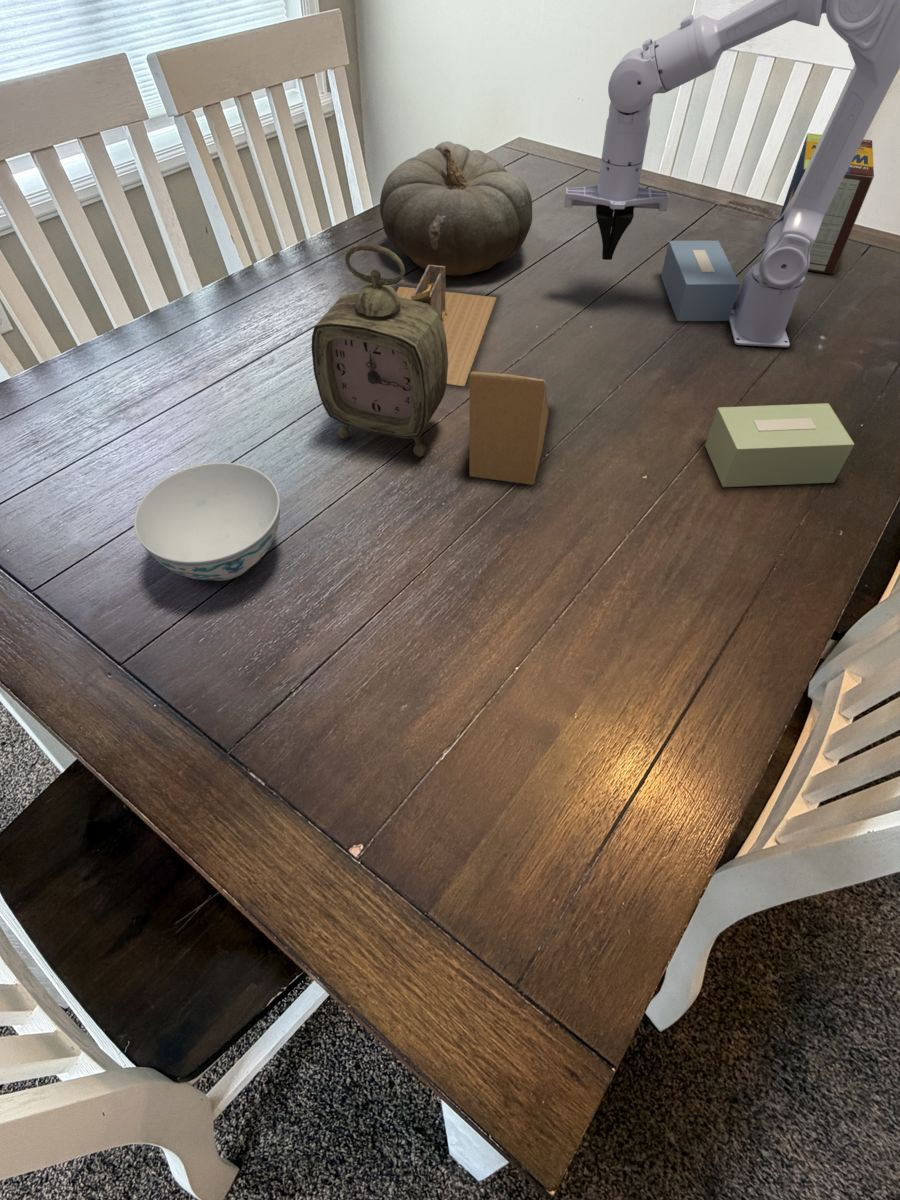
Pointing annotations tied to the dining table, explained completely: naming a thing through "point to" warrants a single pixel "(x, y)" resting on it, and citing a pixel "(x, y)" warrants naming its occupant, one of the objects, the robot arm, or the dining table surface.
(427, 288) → the architectural model on board
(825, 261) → the protein box
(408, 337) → the tabletop clock
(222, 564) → the chinaware
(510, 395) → the sandwich container
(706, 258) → the back tissue box
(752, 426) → the front tissue box
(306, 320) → the dining table surface
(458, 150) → the gourd
